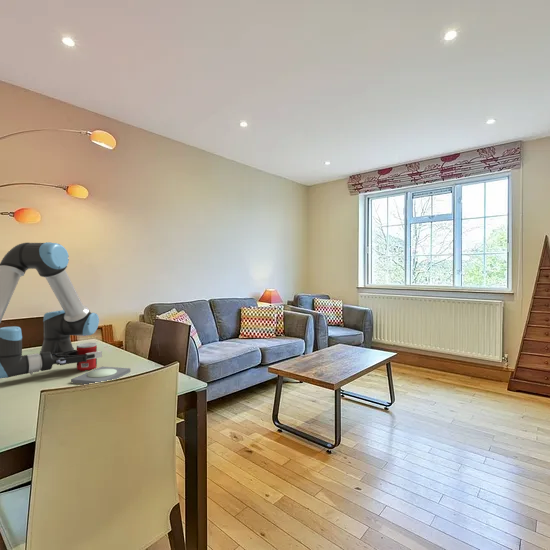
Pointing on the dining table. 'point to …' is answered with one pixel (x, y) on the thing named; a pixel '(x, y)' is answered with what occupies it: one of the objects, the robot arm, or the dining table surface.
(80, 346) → the canned food
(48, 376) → the dining table surface
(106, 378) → the board
